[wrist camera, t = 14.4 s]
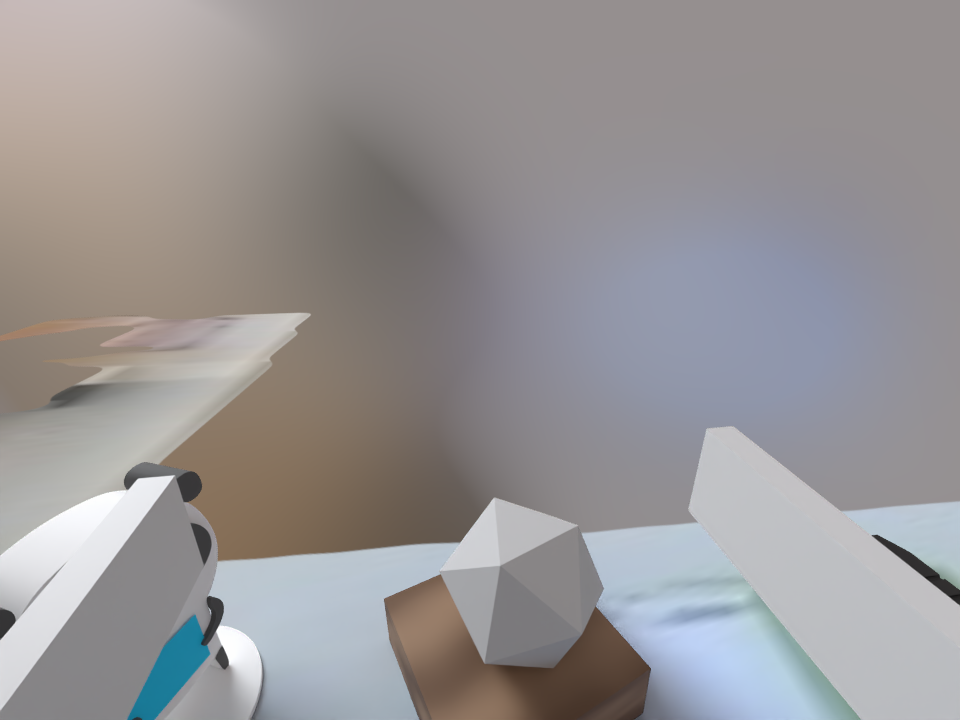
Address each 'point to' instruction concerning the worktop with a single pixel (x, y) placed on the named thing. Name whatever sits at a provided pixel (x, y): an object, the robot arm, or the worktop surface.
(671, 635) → the worktop surface
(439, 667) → the plinth
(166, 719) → the panda figurine
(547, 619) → the die
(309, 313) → the worktop surface
